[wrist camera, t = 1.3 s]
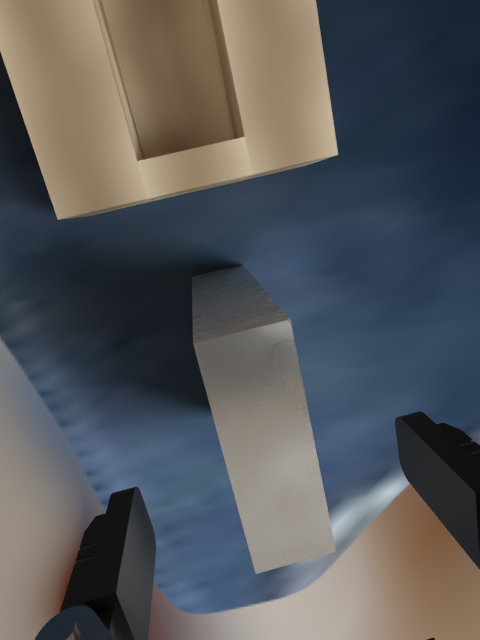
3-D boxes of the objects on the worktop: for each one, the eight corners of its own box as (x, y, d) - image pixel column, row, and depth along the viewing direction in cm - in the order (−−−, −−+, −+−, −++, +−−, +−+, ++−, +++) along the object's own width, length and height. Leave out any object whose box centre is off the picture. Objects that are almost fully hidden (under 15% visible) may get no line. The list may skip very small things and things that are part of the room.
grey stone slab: (242, 264, 24) (290, 319, 13) (273, 401, 27) (335, 551, 15) (191, 277, 24) (193, 343, 12) (227, 413, 27) (255, 573, 15)
